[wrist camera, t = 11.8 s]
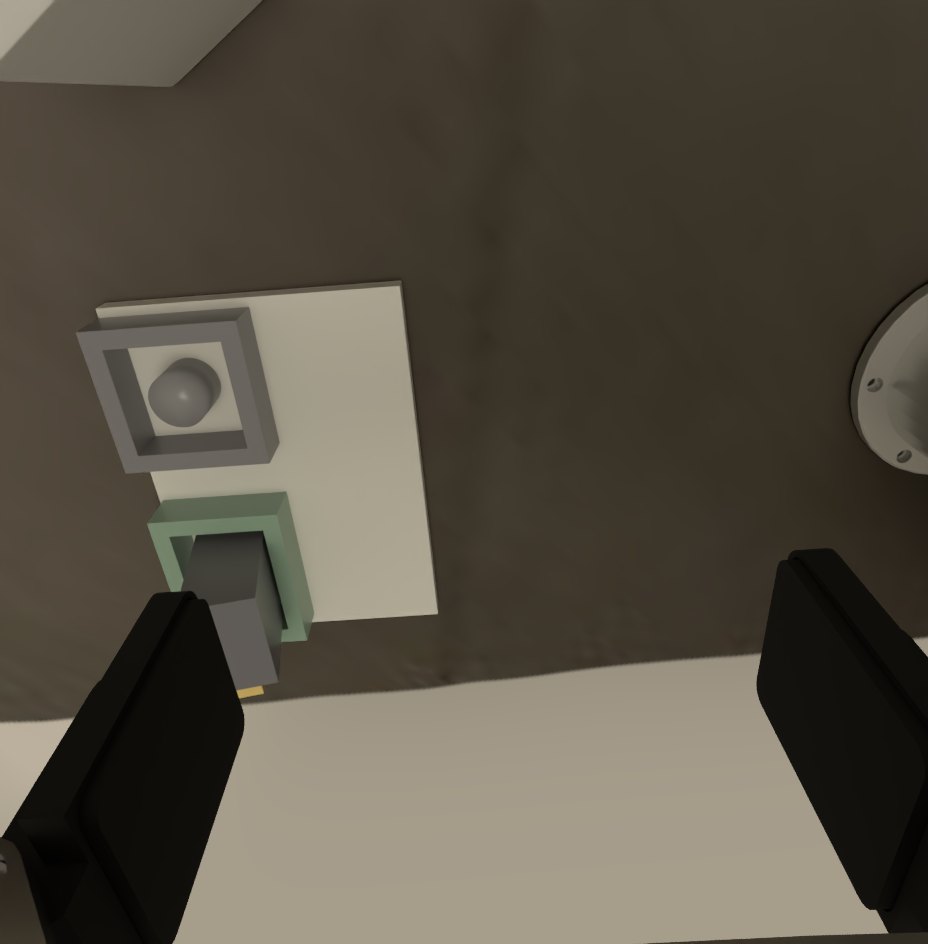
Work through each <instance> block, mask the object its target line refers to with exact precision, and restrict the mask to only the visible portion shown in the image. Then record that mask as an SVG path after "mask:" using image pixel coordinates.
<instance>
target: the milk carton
mask: <svg viewBox="0 0 928 944" xmlns="http://www.w3.org/2000/svg"><path fill="white" fill-rule="evenodd" d="M262 1H263V0H0V81H10V82H39V83H68V84H97V85H127V86H156V87H172V86H174V85H175V84H176V83H178V82H179V81H180V80H181V79H182V78H183V77H184V76H185V75H186V74H187V73H188V72H189V71H190V70H191V69H192V68H193V67H194V66H196V65H197V64H198V63H199V62H200V61H201V60H202V59H203V58H204V57H205V56H206V55H207V54H208V53H209V52H210V51H211V50H212V49H213V48H214V47H215V46H216V45H217V44H218V43H219V42H220V41H221V40H222V39H223V38H224V37H225V36H226V35H228V34H229V33H230V32H231V31H232V30H233V29H234V28H235V27H236V26H237V25H238V24H239V23H240V22H241V21H242V20H243V19H244V18H245V17H246V16H247V15H248V14H249V13H250V12H251V11H252V10H253V9H254V8H255V7H256V6H257V5H259V4H260V3H261V2H262Z"/></svg>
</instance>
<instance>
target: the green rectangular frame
mask: <svg viewBox="0 0 928 944" xmlns="http://www.w3.org/2000/svg"><path fill="white" fill-rule="evenodd" d="M147 525H148V528H149V531H150V534H151V537H152V539H153V542H154V545H155V548H156V551H157V554H158V556H159V559H160V562H161V565H162V568H163V571H164V573H165V576H166V579H167V582H168V585H169V588H170V590H171V592H178V591H181V587H182V584H183V580H184V576H185V573H186V569H187V566H188V562H189V558H190V555H191V551H192V548H193V544H194V541H193V538H192V535H204V534H219V533H234V532H248V531H263V532H264V536H265V540H266V544H267V548H268V552H269V556H270V559H271V563H272V567H273V571H274V575H275V579H276V583H277V587H278V591H279V595H280V598H281V602H282V606H283V621H282V637H281V642H289V641H305V640H307V639H308V635H309V631H310V627H311V624H312V620H313V616H314V610H313V605H312V601H311V597H310V592H309V588H308V584H307V579H306V575H305V570H304V566H303V562H302V557H301V553H300V549H299V544H298V540H297V535H296V531H295V527H294V522H293V518H292V514H291V509H290V505H289V500H288V496H287V492H274V493H259V494H245V495H230V496H215V497H201V498H186V499H172V500H163V502H162V503H161V505H160V506H159V507H158V509H157V510H156V512H155V513H154V514H153V516H152V517H151V519H150V520H149V521H148V523H147Z"/></svg>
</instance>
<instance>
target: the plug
mask: <svg viewBox="0 0 928 944" xmlns="http://www.w3.org/2000/svg"><path fill="white" fill-rule="evenodd" d="M181 591H193V592H194V593H195V594H196V596H197V598H198V599H205V600H206V601H207V603H208V605H209V608H210V611H211V614H212V617H213V620H214V623H215V626H216V629H217V632H218V635H219V639H220V642H221V645H222V648H223V651H224V654H225V657H226V660H227V663H228V666H229V669H230V672H231V675H232V679H233V682H234V685H235V688H236V691H237V694H238V697H239V698H243V697H248V696H253V695H259V694H264V685H268V684H273V683H278V682H279V670H280V653H281V637H282V621H283V606H282V602H281V598H280V595H279V591H278V587H277V583H276V579H275V575H274V571H273V567H272V563H271V559H270V556H269V552H268V548H267V544H266V540H265V536H264V532H263V531H248V532H234V533H219V534H204V535H196V537H195V540H194V544H193V548H192V551H191V555H190V558H189V562H188V566H187V569H186V573H185V576H184V580H183V584H182V587H181Z"/></svg>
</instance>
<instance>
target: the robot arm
mask: <svg viewBox="0 0 928 944" xmlns="http://www.w3.org/2000/svg"><path fill="white" fill-rule="evenodd" d="M850 404H851V411H852V417H853V422H854V424H855V426H856V429H857V431H858V433H859V435H860V437H861V438H862V439H863V441H864V442H865V443H866V445H867V446H868V447H869V448H870V449H871V450H872V451H873V452H875V453H876V454H877V455H878V456H879V457H880V458H882V459H883V460H884V461H886V462H887V463H889V464H891V465H892V466H894V467H896V468H899V469H902V470H905V471H908V472H912V473H916V474H925V475H928V284H927V285H925V286H923V287H922V288H920V289H919V290H917V291H916V292H914V293H913V294H912V295H911V296H910V297H908V298H907V299H906V300H905V301H903V302H902V303H901V304H900V305H899V306H897V307H896V308H895V309H894V310H893V312H892V313H891V314H890V315H889V316H888V317H887V318H886V319H885V320H884V321H883V322H882V324H881V325H880V326H879V327H878V329H877V330H876V332H875V333H874V335H873V336H872V338H871V339H870V341H869V342H868V344H867V345H866V347H865V349H864V351H863V353H862V356H861V358H860V360H859V362H858V364H857V367H856V371H855V374H854V378H853V382H852V386H851V402H850ZM757 693H758V697H759V700H760V703H761V705H762V707H763V709H764V711H765V713H766V715H767V717H768V719H769V721H770V723H771V725H772V727H773V729H774V731H775V733H776V735H777V737H778V739H779V741H780V742H781V744H782V746H783V748H784V750H785V752H786V754H787V756H788V758H789V760H790V762H791V764H792V766H793V768H794V770H795V772H796V774H797V776H798V778H799V780H800V782H801V784H802V786H803V788H804V790H805V792H806V794H807V796H808V798H809V800H810V802H811V804H812V806H813V808H814V810H815V812H816V814H817V816H818V818H819V820H820V822H821V823H822V826H823V827H824V830H825V832H826V833H827V836H828V837H829V839H830V841H831V843H832V845H833V847H834V849H835V851H836V853H837V855H838V857H839V859H840V861H841V863H842V865H843V867H844V869H845V871H846V873H847V875H848V877H849V879H850V881H851V883H852V885H853V887H854V889H855V891H856V893H857V895H858V897H859V898H860V900H861V902H862V903H863V904H864V906H865V907H866V908H868V909H869V910H877V912H878V914H879V916H880V918H881V919H882V921H883V923H884V925H885V927H886V929H887V931H888V933H889V934H855V935H822V936H795V937H774V938H755V939H754V938H753V939H732V940H711V941H691V942H670V943H649V944H928V657H927V656H926V654H925V653H924V652H923V651H922V650H921V649H920V647H919V646H918V645H917V644H916V643H915V641H914V640H913V639H912V638H911V637H910V636H909V635H908V634H907V633H906V632H904V631H903V630H901V629H900V628H899V626H898V625H897V624H896V623H895V622H894V620H893V619H892V618H891V617H890V616H889V614H888V613H887V612H886V611H885V610H884V608H883V607H882V606H881V605H880V604H879V603H878V601H877V600H876V599H875V598H874V597H873V595H872V594H871V593H870V592H869V591H868V589H867V588H866V587H865V586H864V585H863V583H862V582H861V581H860V580H859V579H858V578H857V576H856V575H855V574H854V573H853V572H852V570H851V569H850V568H849V567H848V566H847V564H846V563H845V562H844V561H843V560H842V558H841V557H840V556H839V555H838V554H837V553H836V552H835V551H834V550H833V549H830V548H824V549H809V550H795V551H792V552H791V553H790V555H789V557H788V560H782V561H780V563H779V564H778V568H777V573H776V578H775V583H774V589H773V594H772V600H771V605H770V610H769V616H768V621H767V627H766V632H765V638H764V643H763V648H762V654H761V659H760V665H759V670H758V675H757ZM243 731H244V714H243V709H242V706H241V703H240V700H239V697H238V694H237V691H236V688H235V685H234V682H233V679H232V675H231V672H230V669H229V666H228V663H227V660H226V657H225V654H224V651H223V648H222V645H221V642H220V639H219V635H218V632H217V629H216V626H215V623H214V620H213V617H212V614H211V611H210V608H209V605H208V603H207V601H206V600H205V599H198V598H197V596H196V594H195V593H194V592H193V591H178V592H163V593H156V594H154V595H153V596H152V597H151V599H150V600H149V602H148V603H147V605H146V607H145V608H144V610H143V612H142V613H141V615H140V617H139V618H138V620H137V622H136V623H135V625H134V627H133V628H132V630H131V632H130V633H129V635H128V636H127V638H126V640H125V641H124V643H123V645H122V646H121V648H120V650H119V651H118V653H117V655H116V656H115V658H114V660H113V661H112V663H111V665H110V666H109V668H108V670H107V671H106V673H105V674H104V676H103V678H102V679H101V681H99V682H98V683H97V684H96V685H95V687H94V688H93V689H92V691H91V692H90V694H89V695H88V697H87V699H86V700H85V702H84V704H83V705H82V707H81V709H80V710H79V712H78V713H77V715H76V717H75V718H74V720H73V722H72V723H71V725H70V727H69V728H68V730H67V731H66V733H65V735H64V737H63V738H62V740H61V741H60V743H59V745H58V746H57V748H56V750H55V751H54V753H53V754H52V756H51V758H50V759H49V761H48V763H47V764H46V766H45V767H44V769H43V771H42V772H41V774H40V776H39V777H38V779H37V781H36V782H35V784H34V786H33V787H32V789H31V790H30V792H29V794H28V796H27V797H26V799H25V800H24V802H23V803H22V805H21V807H20V809H19V810H18V812H17V813H16V815H15V817H14V818H13V820H12V822H11V823H10V825H9V826H8V828H7V830H6V831H5V833H4V835H3V836H2V837H0V944H172V943H173V941H174V940H175V937H176V935H177V932H178V929H179V926H180V923H181V920H182V917H183V914H184V911H185V908H186V905H187V902H188V899H189V896H190V893H191V890H192V887H193V884H194V881H195V878H196V875H197V871H198V869H199V866H200V862H201V859H202V857H203V854H204V850H205V848H206V845H207V842H208V839H209V835H210V833H211V829H212V826H213V823H214V820H215V817H216V814H217V811H218V808H219V805H220V802H221V799H222V796H223V793H224V790H225V787H226V784H227V781H228V778H229V775H230V772H231V769H232V766H233V763H234V760H235V757H236V754H237V751H238V748H239V745H240V742H241V738H242V736H243Z"/></svg>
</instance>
